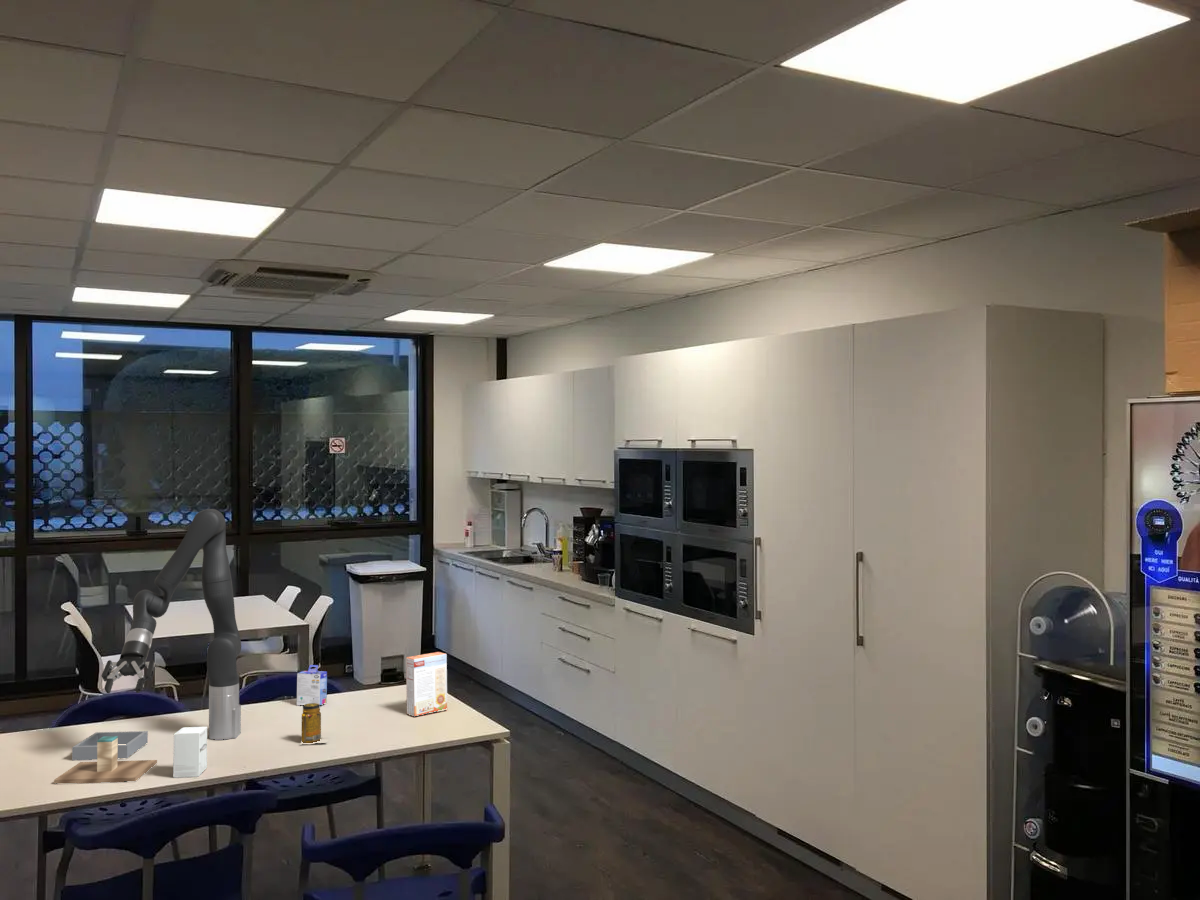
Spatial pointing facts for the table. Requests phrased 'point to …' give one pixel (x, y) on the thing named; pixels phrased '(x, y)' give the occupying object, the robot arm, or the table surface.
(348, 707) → the table surface
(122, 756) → the parts bin
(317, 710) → the condiment
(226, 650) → the robot arm
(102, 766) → the beech block
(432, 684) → the cracker box
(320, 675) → the ink cartridge box
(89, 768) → the walnut board
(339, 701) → the table surface
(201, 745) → the supplement box
